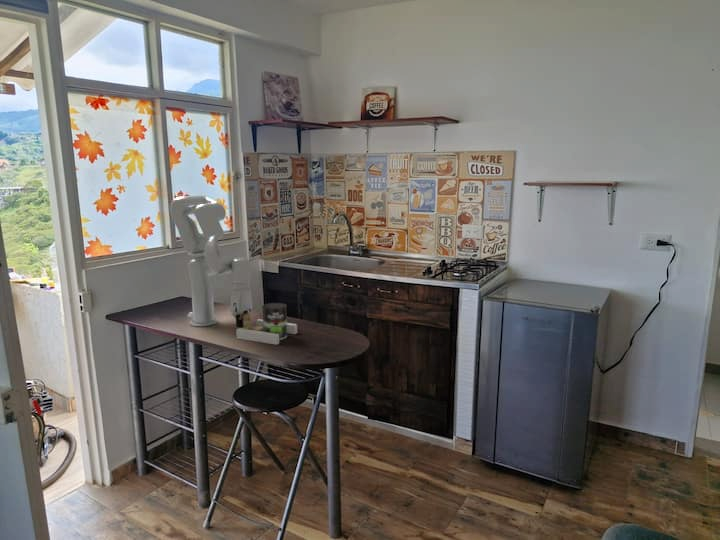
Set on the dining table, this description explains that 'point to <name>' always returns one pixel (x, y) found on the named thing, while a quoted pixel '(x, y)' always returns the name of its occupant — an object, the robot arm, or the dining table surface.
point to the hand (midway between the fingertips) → (242, 325)
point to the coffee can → (275, 319)
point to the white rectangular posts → (263, 334)
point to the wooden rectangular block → (247, 323)
